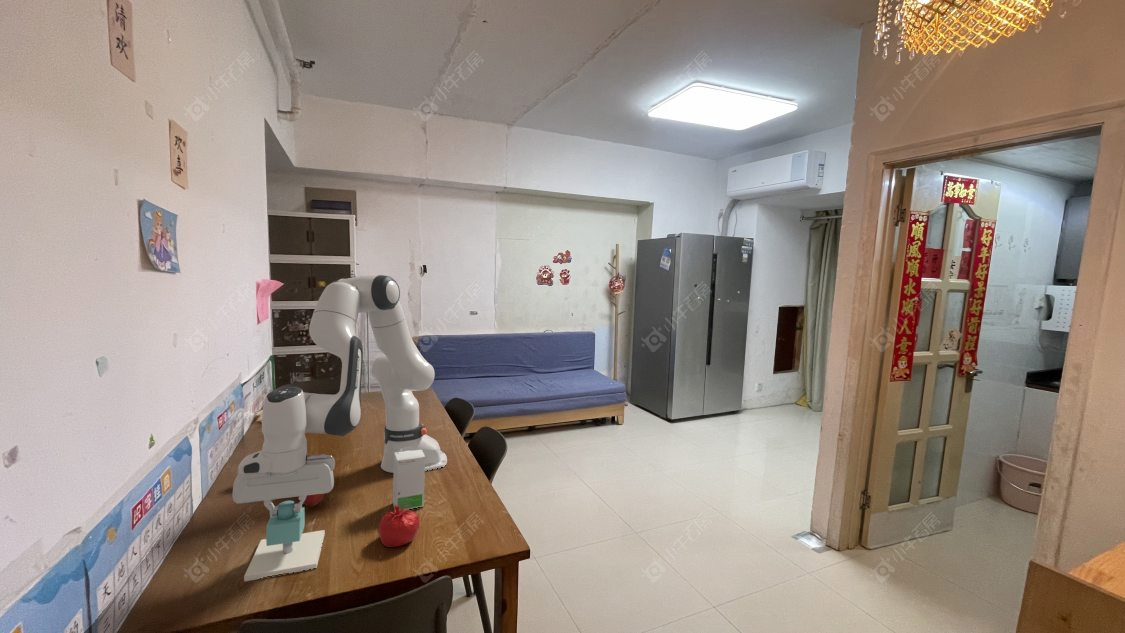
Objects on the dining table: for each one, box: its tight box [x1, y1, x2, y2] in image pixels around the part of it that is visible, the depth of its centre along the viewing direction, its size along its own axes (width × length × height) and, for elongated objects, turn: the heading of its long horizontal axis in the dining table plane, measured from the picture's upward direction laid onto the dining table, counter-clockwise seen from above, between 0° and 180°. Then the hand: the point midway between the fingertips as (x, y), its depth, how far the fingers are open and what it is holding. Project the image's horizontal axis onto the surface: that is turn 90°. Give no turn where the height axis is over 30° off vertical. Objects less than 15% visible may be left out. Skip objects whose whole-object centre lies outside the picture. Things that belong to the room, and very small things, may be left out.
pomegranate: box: [377, 505, 420, 548], centre depth 114 cm, size 10×10×9 cm
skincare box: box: [392, 450, 426, 510], centre depth 130 cm, size 8×7×16 cm
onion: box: [303, 493, 325, 507], centre depth 128 cm, size 6×6×8 cm
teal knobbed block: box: [265, 500, 306, 546], centre depth 105 cm, size 7×7×8 cm
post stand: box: [243, 529, 326, 582], centre depth 106 cm, size 14×14×5 cm
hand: (286, 513), depth 105 cm, fingers closed on teal knobbed block, 3 cm apart
